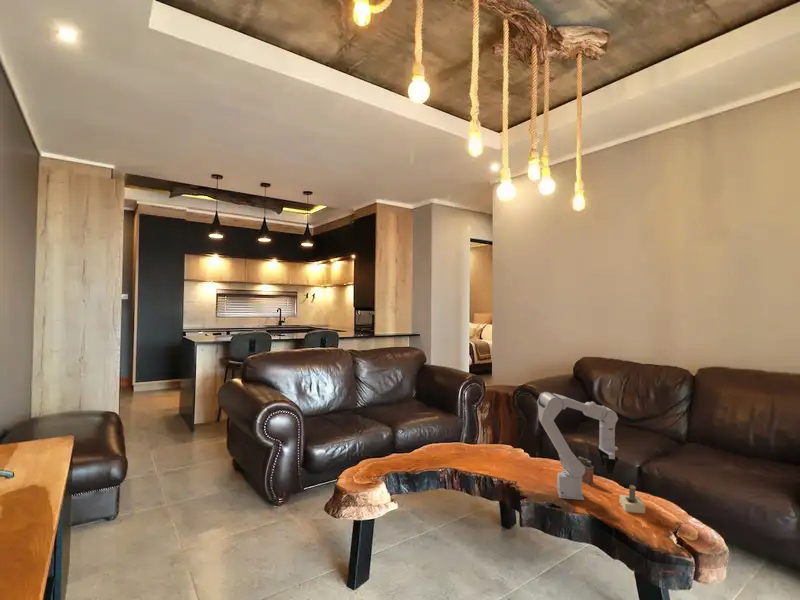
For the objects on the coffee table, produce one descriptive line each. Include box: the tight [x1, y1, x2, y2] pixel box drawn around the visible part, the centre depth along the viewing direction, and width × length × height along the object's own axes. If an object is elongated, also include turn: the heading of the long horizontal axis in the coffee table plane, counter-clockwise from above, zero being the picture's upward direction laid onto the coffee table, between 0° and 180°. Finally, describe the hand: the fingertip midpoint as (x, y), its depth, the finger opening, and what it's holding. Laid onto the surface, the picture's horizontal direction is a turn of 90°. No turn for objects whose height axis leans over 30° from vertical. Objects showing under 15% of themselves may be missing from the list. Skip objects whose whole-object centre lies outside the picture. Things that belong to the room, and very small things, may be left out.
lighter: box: [577, 456, 595, 486], centre depth 187 cm, size 8×3×10 cm, turn 30°
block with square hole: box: [619, 494, 646, 514], centre depth 165 cm, size 7×7×3 cm
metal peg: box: [628, 484, 636, 503], centre depth 165 cm, size 2×2×9 cm
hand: (606, 468), depth 176 cm, fingers open, 7 cm apart
